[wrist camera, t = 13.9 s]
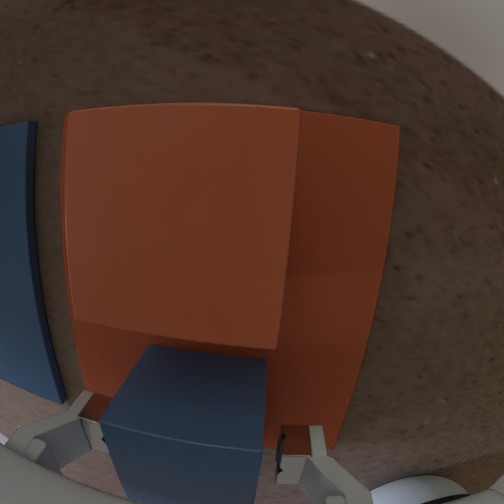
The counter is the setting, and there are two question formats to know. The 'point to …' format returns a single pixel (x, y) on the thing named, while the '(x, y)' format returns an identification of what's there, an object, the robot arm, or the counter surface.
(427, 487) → the pump dispenser
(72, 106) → the counter surface
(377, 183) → the terracotta mat
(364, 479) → the counter surface
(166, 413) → the slate block
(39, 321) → the blue mat
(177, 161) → the terracotta block
